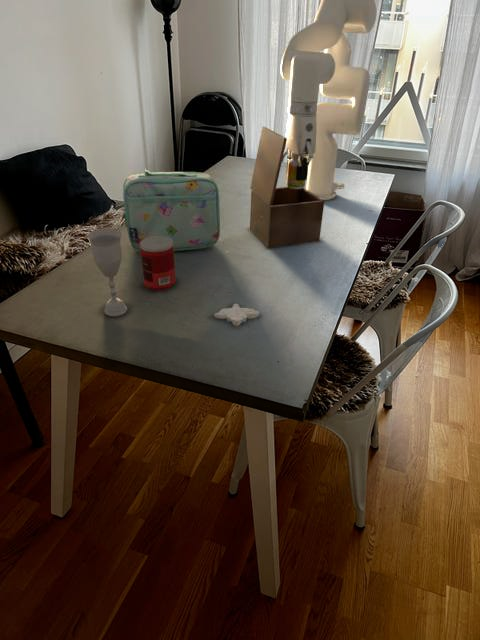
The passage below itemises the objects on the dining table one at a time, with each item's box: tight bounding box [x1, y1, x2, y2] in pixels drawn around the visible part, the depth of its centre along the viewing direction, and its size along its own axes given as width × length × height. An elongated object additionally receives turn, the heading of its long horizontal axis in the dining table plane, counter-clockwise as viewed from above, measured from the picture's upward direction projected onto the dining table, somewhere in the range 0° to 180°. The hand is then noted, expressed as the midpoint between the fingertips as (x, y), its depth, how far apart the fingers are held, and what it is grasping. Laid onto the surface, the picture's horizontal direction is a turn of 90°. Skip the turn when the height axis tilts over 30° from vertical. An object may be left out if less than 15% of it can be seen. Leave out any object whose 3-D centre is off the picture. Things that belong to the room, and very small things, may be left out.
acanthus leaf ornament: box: [213, 303, 260, 327], centre depth 103 cm, size 8×7×2 cm
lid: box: [249, 126, 287, 205], centre depth 128 cm, size 18×15×1 cm
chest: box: [249, 186, 325, 249], centre depth 139 cm, size 17×15×12 cm
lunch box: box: [120, 169, 221, 253], centre depth 128 cm, size 27×10×21 cm, turn 102°
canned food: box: [139, 236, 177, 291], centre depth 113 cm, size 8×8×11 cm
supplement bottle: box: [286, 152, 306, 189], centre depth 132 cm, size 5×5×10 cm
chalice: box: [87, 228, 128, 317], centre depth 100 cm, size 7×7×18 cm
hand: (296, 176), depth 133 cm, fingers closed on supplement bottle, 5 cm apart
